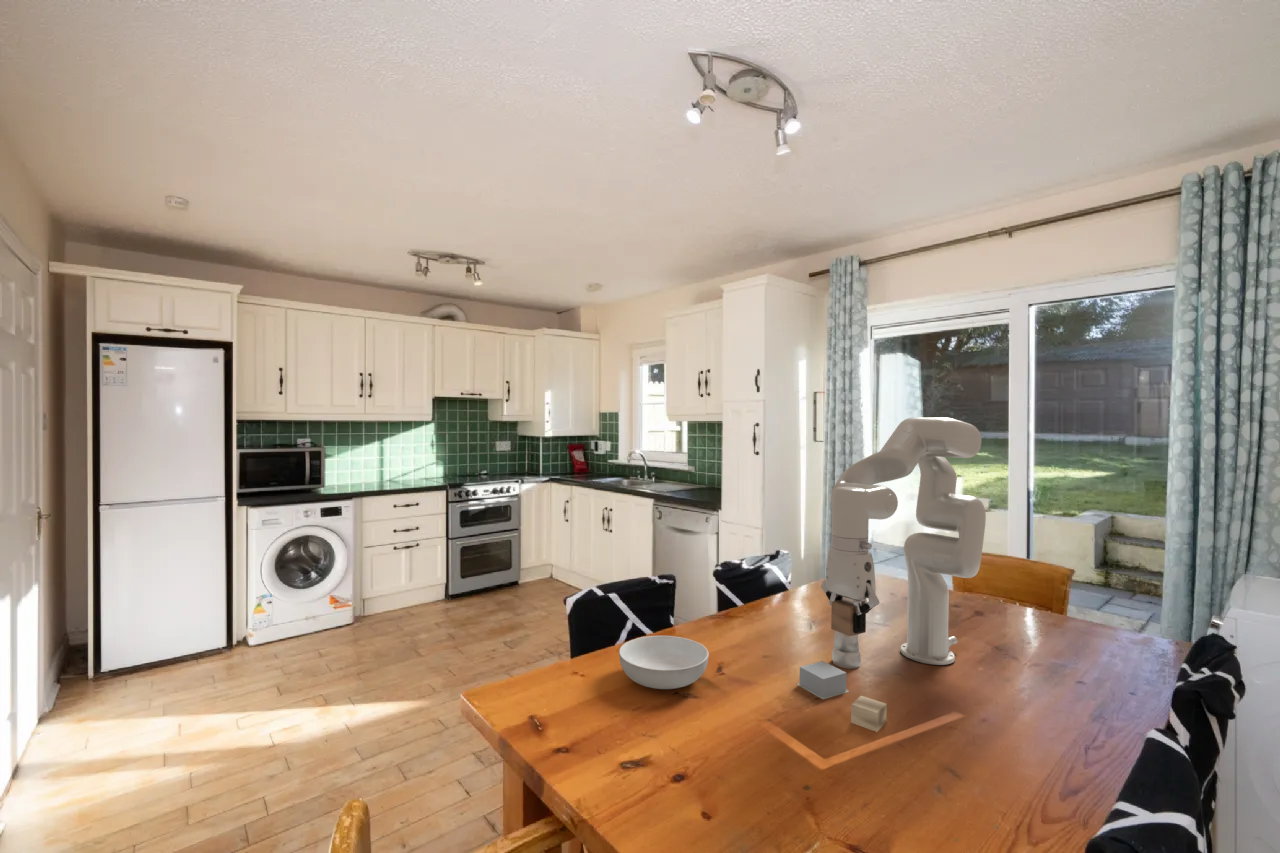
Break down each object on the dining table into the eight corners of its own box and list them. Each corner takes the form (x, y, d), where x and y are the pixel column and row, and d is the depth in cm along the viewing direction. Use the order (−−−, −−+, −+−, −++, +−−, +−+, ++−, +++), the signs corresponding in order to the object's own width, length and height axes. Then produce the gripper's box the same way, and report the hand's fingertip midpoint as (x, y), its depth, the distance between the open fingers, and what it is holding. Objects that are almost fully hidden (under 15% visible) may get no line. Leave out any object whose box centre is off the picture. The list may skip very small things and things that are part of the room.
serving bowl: (719, 671, 139) (720, 642, 139) (690, 710, 120) (690, 677, 120) (641, 655, 148) (641, 628, 148) (602, 689, 129) (602, 659, 129)
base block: (822, 678, 133) (822, 660, 133) (846, 690, 127) (846, 672, 127) (799, 684, 130) (799, 666, 129) (823, 697, 123) (823, 679, 123)
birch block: (860, 720, 117) (861, 695, 117) (886, 729, 114) (886, 703, 114) (851, 729, 113) (851, 704, 113) (877, 739, 110) (877, 713, 110)
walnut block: (846, 625, 129) (847, 598, 129) (865, 632, 125) (866, 604, 125) (831, 628, 126) (831, 601, 126) (849, 636, 122) (850, 607, 122)
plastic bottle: (863, 675, 137) (864, 591, 137) (833, 672, 139) (834, 589, 139) (858, 664, 144) (859, 584, 144) (830, 661, 145) (830, 582, 145)
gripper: (895, 550, 120) (893, 637, 120) (830, 535, 135) (829, 613, 135) (871, 553, 116) (869, 644, 116) (807, 538, 131) (806, 618, 131)
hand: (848, 626), depth 126 cm, fingers closed on walnut block, 5 cm apart
